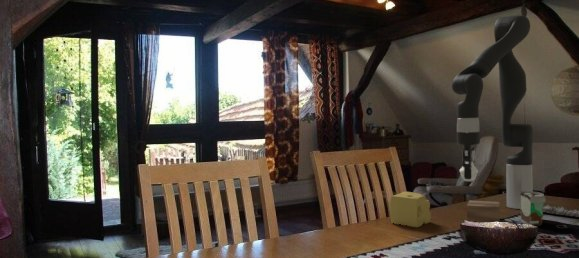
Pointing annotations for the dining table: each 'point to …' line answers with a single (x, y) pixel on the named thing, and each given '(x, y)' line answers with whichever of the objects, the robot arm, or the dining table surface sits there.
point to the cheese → (410, 209)
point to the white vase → (473, 172)
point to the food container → (532, 207)
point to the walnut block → (482, 211)
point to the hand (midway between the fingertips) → (468, 177)
